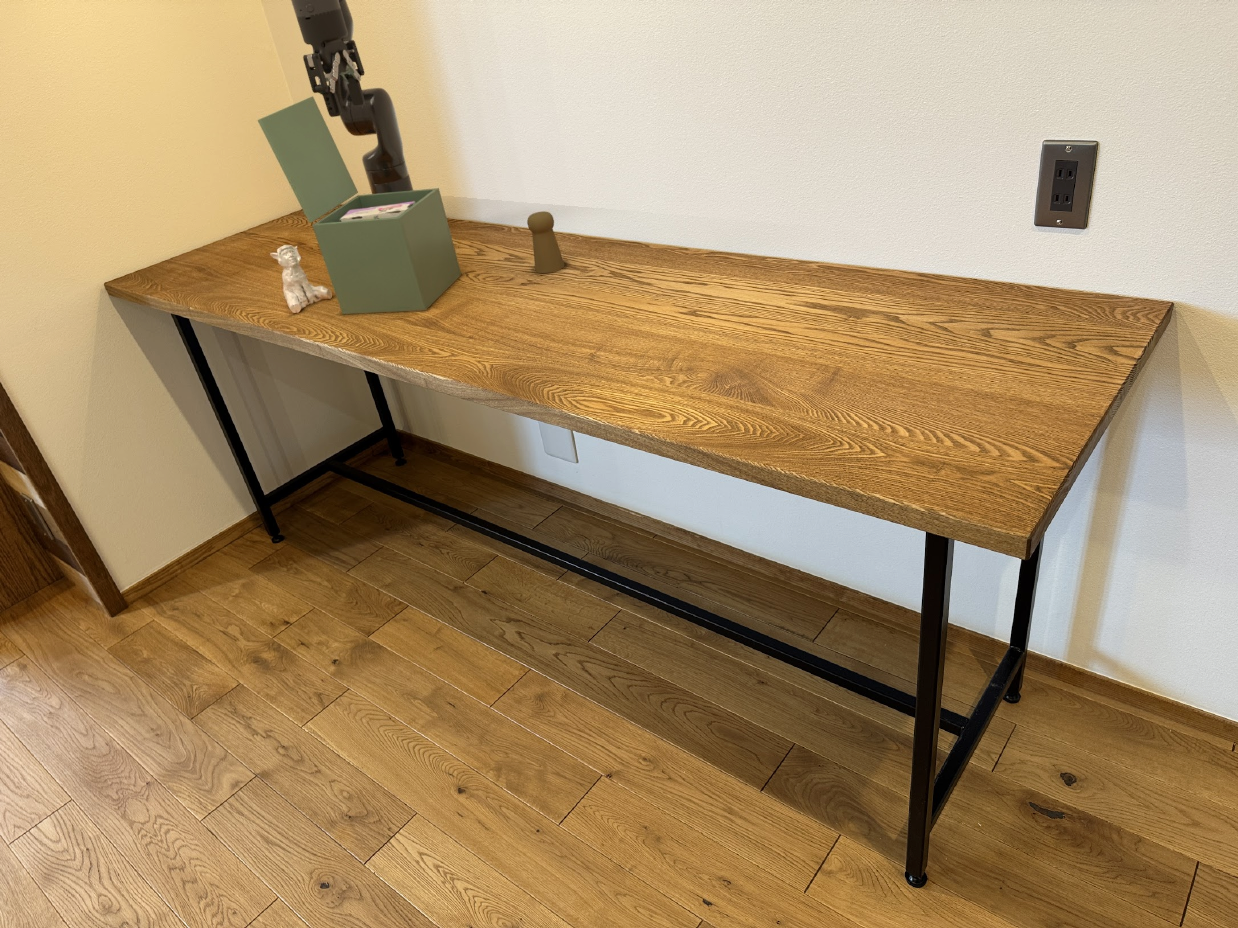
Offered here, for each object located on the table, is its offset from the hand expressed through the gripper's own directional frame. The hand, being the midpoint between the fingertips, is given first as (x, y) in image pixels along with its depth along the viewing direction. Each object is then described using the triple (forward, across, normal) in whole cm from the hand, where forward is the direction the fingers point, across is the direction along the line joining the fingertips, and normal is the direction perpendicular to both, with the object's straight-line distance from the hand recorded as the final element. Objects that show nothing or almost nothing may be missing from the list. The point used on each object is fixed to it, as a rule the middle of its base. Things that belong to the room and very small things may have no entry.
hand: (348, 110), depth 159 cm
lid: (+7, 0, -10) cm, 13 cm away
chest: (+35, 0, 0) cm, 35 cm away
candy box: (+35, 0, 0) cm, 35 cm away
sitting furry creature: (+35, +2, -22) cm, 42 cm away
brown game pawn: (+35, -10, +28) cm, 46 cm away
